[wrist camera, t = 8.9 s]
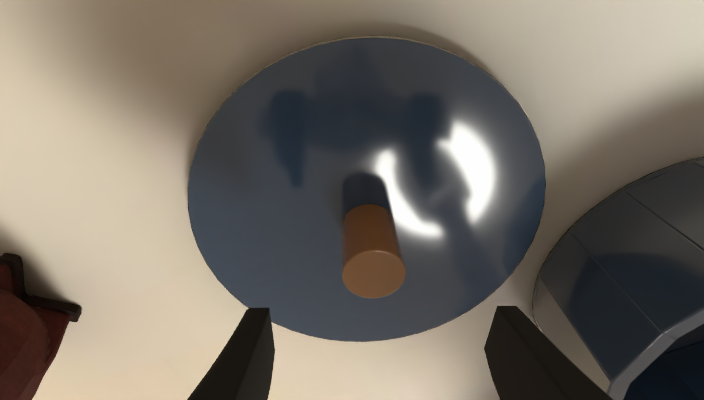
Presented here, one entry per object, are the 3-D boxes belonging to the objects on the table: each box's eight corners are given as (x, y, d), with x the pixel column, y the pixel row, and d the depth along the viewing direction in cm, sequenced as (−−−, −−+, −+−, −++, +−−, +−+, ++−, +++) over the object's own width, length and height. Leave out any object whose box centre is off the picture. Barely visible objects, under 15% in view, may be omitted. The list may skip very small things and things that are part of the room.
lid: (453, 344, 23) (475, 415, 19) (186, 301, 20) (153, 373, 16) (606, 95, 15) (693, 133, 11) (209, -25, 12) (156, -26, 9)
